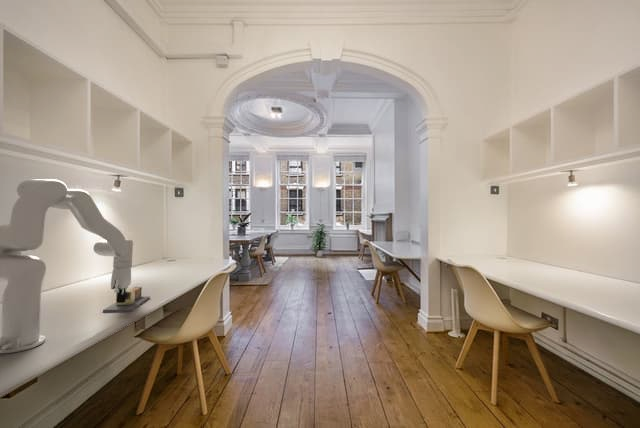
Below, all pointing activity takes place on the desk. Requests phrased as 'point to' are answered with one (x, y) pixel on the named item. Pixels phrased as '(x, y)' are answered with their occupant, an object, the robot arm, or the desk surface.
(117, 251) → the robot arm
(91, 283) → the desk surface
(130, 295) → the tan block
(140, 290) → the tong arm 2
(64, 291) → the desk surface
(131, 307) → the tong mat
